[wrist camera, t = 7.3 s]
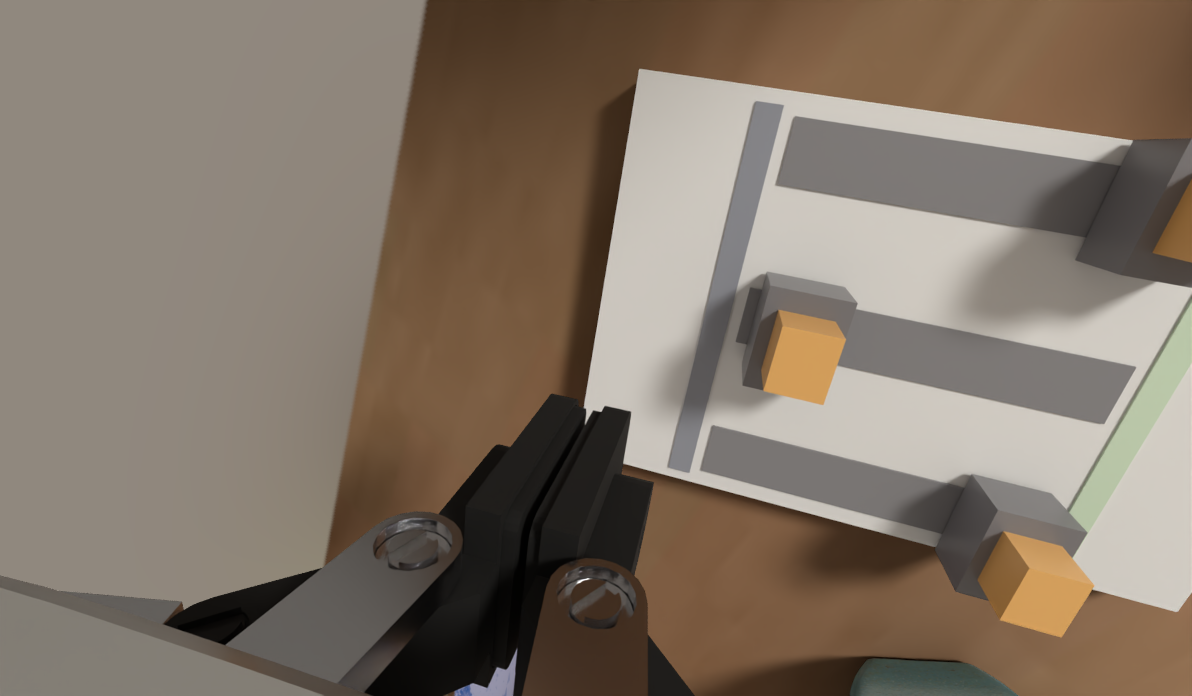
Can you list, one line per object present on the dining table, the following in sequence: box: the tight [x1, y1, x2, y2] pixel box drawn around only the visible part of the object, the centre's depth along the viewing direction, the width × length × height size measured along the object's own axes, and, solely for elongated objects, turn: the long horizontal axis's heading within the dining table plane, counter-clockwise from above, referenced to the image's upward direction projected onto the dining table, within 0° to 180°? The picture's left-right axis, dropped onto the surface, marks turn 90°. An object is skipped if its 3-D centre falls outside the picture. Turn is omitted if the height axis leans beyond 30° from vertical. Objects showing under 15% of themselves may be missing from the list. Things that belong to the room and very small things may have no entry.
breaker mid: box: [742, 272, 858, 405], centre depth 20 cm, size 4×3×4 cm
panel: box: [584, 69, 1192, 612], centre depth 23 cm, size 17×26×2 cm, turn 81°
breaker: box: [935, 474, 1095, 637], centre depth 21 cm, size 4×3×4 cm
